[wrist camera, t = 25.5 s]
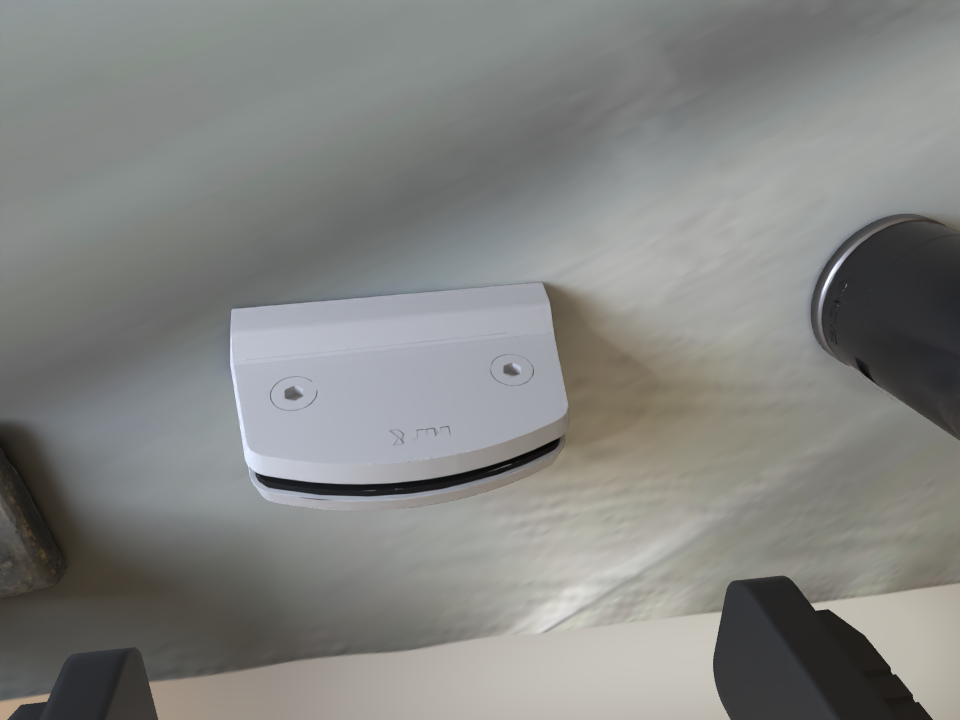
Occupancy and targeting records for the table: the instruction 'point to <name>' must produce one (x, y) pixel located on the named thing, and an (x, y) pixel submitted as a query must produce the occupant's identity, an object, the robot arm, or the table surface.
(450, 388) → the white rounded block
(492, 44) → the table surface
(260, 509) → the table surface
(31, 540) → the embossing press
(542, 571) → the table surface
